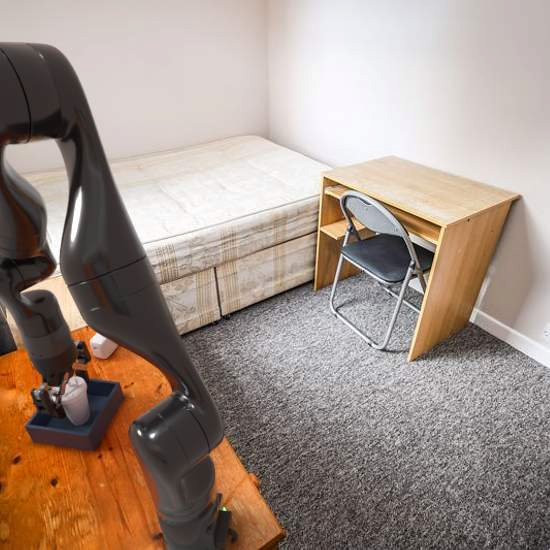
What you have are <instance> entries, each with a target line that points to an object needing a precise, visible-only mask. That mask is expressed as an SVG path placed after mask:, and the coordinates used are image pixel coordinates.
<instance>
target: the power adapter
mask: <svg viewBox="0 0 550 550" xmlns="http://www.w3.org/2000/svg"><path fill="white" fill-rule="evenodd" d="M89 347H90V349H91V352H92V354H93V356H94V357H95V358H98V359H102V360H107V359H108V358H110V356H111V355H112V354H113V353H114V352H115V350H116V349H118V347H119V345H117V344H115V343H113V342H112V341H110V340H108V339H106V338H105V337H103V336H101V335H100V334H98V333H97V332H95V334H94V335H93V336H92V337H91V338H90V340H89Z"/></svg>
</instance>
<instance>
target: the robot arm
mask: <svg viewBox="0 0 550 550" xmlns="http://www.w3.org/2000/svg"><path fill="white" fill-rule="evenodd" d="M50 141H55V143H56V145H57V147H58V149H59V152H60V154H61V158H62V160H63V163H64V168H65V172H66V177H67V184H68V195H67V206H66V212H65V218H64V222H63V228H62V234H61V239H60V247H59V258H58V259H59V261H58V262H59V264H58V262H57V259H56V257H55V254H54V252H53V251H52V249H51V247H50V244H49V239H48V236H47V235H48V221H49V218H48V217H49V215H48V214H49V213H48V207H47V203H46V201H45V199H44V197H43V195H42V194H41V193H40V191H39V190H38V189H37V187H35V186H34V185H33V184H32V183H31V182H30V181H29V180H28V179H26V178H25V177H24V176H23V175H22V174H21V173H20V172H19V171H17V169H15V168H14V167H13V165H12V164H10V162H9V161H8V159H7V156H6V155H7V154H6V151H7V147H9V146H21V145H28V144H35V143H41V142H43V143H44V142H50ZM58 265H59V270H60V274H61V277H62V279H63V282H64V284H65V285H66V288H67V290H68V292H69V294H70V296H71V298H72V301H73V302H74V304H75V306H76V308H77V310H78V312H79V314H80V317H81V318H82V320H83V322H84V323H85V324H86V325H87V326H88V327H89V328H90V329H91V330H93V332H95V333H98V334H100V335H101V336H103V337H105V338H106V339H108V340H110V341H112V342H113V343H115V344H117V345H118V347H121V348H123V349H125V350H127V351H129V352H130V353H132V354H135V355H137V356H139V357H140V358H142V359H143V360H145V362H147V363H149V364H151V365H152V366H153V367H155V368H156V369H157V370H158V371H159V372H160V373H161V374H162V375H163V376H164V378H165V379H166V382H167V383H168V384H169V386H170V389H171V393H170V394H168V395H167V396H166V397H164V398H163V399H162V400H160V401H159V402H157V403H156V404H154V405H153V406H151V407H150V408H149V409H147V410H146V411H144V412H143V413H141V414H139V416H137V417H136V418H134V419H133V420H132V421H131V422H130V424H129V426H128V430H127V431H128V433H127V435H128V441H129V445H130V448H131V450H132V453H133V455H134V457H135V459H136V461H137V464H138V466H139V468H140V471H141V474H142V477H143V480H144V482H145V485H146V487H147V490H148V493H149V495H150V498H151V501H152V505H153V507H154V511H155V514H156V517H157V521H158V524H159V527H160V530H161V533H162V534H161V535H162V545H163V548H164V549H165V550H227V545H228V540H229V536H231V539H230V542H231V544H235V543H236V542H237V540H238V539H239V535H238V533H237V532H236V531H235V530H234V529H232V527H231V526H232V520H233V515H232V513H233V512H232V511H230V510H227V509H226V508H225V504H224V495H223V493H222V492H218V483H217V473H216V466H215V463H214V460H213V458H212V456H211V454H212V453H213V452H214V451H215V450H216V449H217V448H218V447H219V446H220V445H221V444H222V442H223V441H224V439H225V436H226V435H225V434H226V430H225V424H224V420H223V417H222V415H221V412H220V410H219V408H218V406H217V404H216V402H215V399H214V398H213V396H212V394H211V392H210V390H209V388H208V385H206V383H205V380H204V379H203V377H202V375H201V373H200V372H199V369H198V367H197V366H196V364H195V361H194V359H193V358H192V356H191V354H190V352H189V350H188V348H187V346H186V344H185V342H184V340H183V338H182V336H181V333H180V331H179V329H178V326H177V324H176V322H175V319H174V317H173V314H172V312H171V309H170V307H169V305H168V302H167V300H166V297H165V295H164V292H163V290H162V286H161V284H160V281H159V279H158V277H157V274H156V272H155V269H154V267H153V265H152V262H151V261H150V258H149V256H148V255H147V252H146V249H145V247H144V244H143V243H142V241H141V239H140V237H139V234H138V233H137V230H136V227H135V226H134V223H133V221H132V219H131V216H130V213H129V212H128V209H127V207H126V204H125V202H124V200H123V197H122V195H121V192H120V190H119V188H118V185H117V182H116V180H115V177H114V174H113V170H112V168H111V164H110V162H109V160H108V156H107V153H106V150H105V148H104V143H103V141H102V139H101V135H100V132H99V130H98V126H97V123H96V120H95V117H94V115H93V110H92V108H91V105H90V102H89V100H88V97H87V95H86V92H85V89H84V87H83V85H82V82H81V79H80V77H79V75H78V73H77V71H76V69H75V67H74V66H73V64H72V63H71V61H70V60H69V59H68V57H67V55H65V54H64V52H63V51H62V50H60V49H59V48H58V47H56V46H53V45H51V44H47V43H39V42H24V41H23V42H22V41H21V42H20V41H15V42H14V41H0V303H1V304H2V305H3V307H5V308H6V310H7V311H8V312H9V314H10V316H11V317H12V319H13V321H14V323H15V325H16V328H17V329H18V332H19V334H20V337H21V338H20V339H21V342H22V344H23V346H24V348H25V351H26V353H27V355H28V357H29V359H30V361H31V363H32V366H33V369H35V371H36V372H37V373H39V375H40V376H41V384H40V385H39V386H38V387H37V388H36V387H35V388H31V390H30V392H29V393H30V397H31V399H32V402H33V403H34V406H35V408H36V411H38V413H43V414H49V415H52V417H53V418H58V419H61V418H62V419H64V418H65V417H66V415H67V414H66V412H65V410H64V408H63V405H62V404H61V401H62V396H63V395H64V394H65V390H66V385H67V383H68V381H69V379H70V378H71V377H72V376H77V377H81V378H83V379H84V380H85V383H86V384H88V383H89V382H90V380H89V378H90V375H89V372H88V368H89V366H88V364H89V363H90V362H92V355H91V353H90V351H89V348H88V346H87V343H86V341H84V340H77V339H74V336H73V334H72V331H71V328H70V326H69V323H68V321H66V319H65V317H64V313H63V311H62V308H61V306H60V303H59V299H58V297H57V296H56V295H55V294H54V292H52V291H50V290H49V289H44V288H42V289H41V288H37V289H31V290H28V289H30V288H32V287H35V286H36V285H38V284H40V283H43V282H45V281H46V280H48V279H50V278H51V277H52V276H53V275H54V274H55V272H56V271H57V268H58ZM26 290H27V291H26ZM54 387H59V391H57V390H52V389H53V388H54ZM52 396H55V397H56V400H55V401H52ZM165 547H166V548H165Z"/></svg>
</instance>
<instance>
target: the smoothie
mask: <svg viewBox="0 0 550 550" xmlns="http://www.w3.org/2000/svg"><path fill="white" fill-rule="evenodd" d="M52 390H57V391H59V387H52ZM86 390H87V385H86V383H85V380H84V379H83V378H81V377H77V376H76V375H73V377H71V378H70V379H69V381H68V383H67V385H66V390H65V394H64V395H63V396H62V401H61V404H62V405H63V408H64V410H65V412H66V414H67V416H68V418H69V419H70V420H71V422H72V423H73V424H74V425H82V424H84V423H86V422H87V421H88V420H89V418H90V410H89V404H88V399H87V393H86ZM52 398H53V401H55V400H56V397H55V396H52Z"/></svg>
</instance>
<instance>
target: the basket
mask: <svg viewBox="0 0 550 550" xmlns="http://www.w3.org/2000/svg"><path fill="white" fill-rule="evenodd" d="M73 376H74V375H73ZM73 376H72V377H73ZM89 380H90V382H89V383H88V384H86V385H87V390H86V393H87V399H88V404H89V410H90V418H89V420H88V421H87V422H86V423H84V424H82V425H74V424H73V423H72V422H71V420H70V419H69V418H68V416H67V415H66V417H65V418H64V419H62V418H61V419H58V418H53V417H52V415H49V414H43V413H38V411H37V410H36V411H34V413H33V415H32V416H31V417H30V419H29V420H27V422H26V424H25V425H24V426H23V427H24V428H25V430H26V432H27V435H28V436H29V438H30V439H31V441H32V442H33V443H36V444H42V445H48V446H49V445H50V446H57V447H62V448H69V449H73V450H74V449H76V450H81V451H88V452H96V449H97V448H98V445H99V444H100V442H101V441H102V438H103V437H104V435H105V434H106V431H107V429H108V428H109V426H110V425H111V423H112V420H113V419H114V417H115V415H116V414H117V412H118V410H119V408H120V407H121V405H122V404H123V402H124V399H125V395H124V392H123V388H122V385H121V382H119V381H114V380H105V379H97V378H90V377H89ZM52 401H53V398H52Z"/></svg>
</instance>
